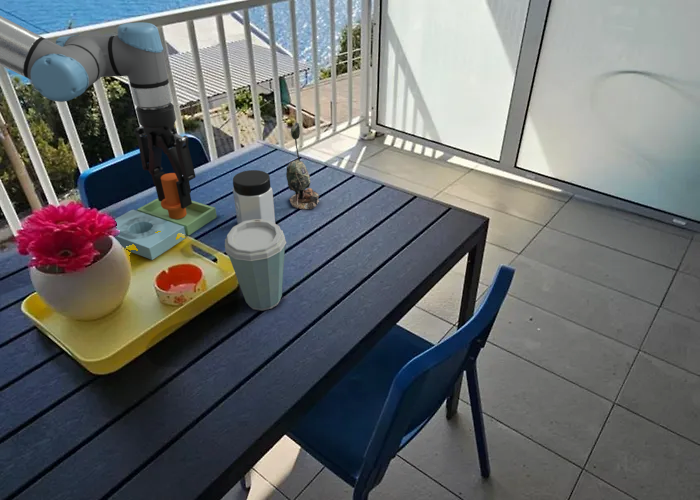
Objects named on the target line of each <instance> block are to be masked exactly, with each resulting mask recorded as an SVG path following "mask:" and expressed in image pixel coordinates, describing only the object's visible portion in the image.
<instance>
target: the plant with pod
mask: <svg viewBox="0 0 700 500" xmlns="http://www.w3.org/2000/svg"><path fill="white" fill-rule="evenodd" d="M290 135H291V137H292V139H293V140H294V144H295V149H296V155H297V159H295V160H293V161H290V162H289V163H288V164H286V163H284V165H285V166H286V165H287V166H286V172H285V173H286V174H285V176H286V181H287V186H288V189H289V190H290V191H293V192H294V193H295V194H293V195H292V196H291V197H289V202H290V204H291V206H292V207H293V208H296V209H300V210H312V209H315V208H316V207H317V206H318V204H319V202H320V200H319V197H320V196H319V193H318V192H316V191H314V190H313V188H311V176H310V174H309V171H308V169H307V166H306V164H305V163H304V161H302V160H300V155H299V150H298V142H297V141H298V139H299V138H300V135H301V127H300V124H299V122H296V121H295V122H294V124H293V125H292V126H291V128H290Z"/></svg>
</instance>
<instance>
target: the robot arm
mask: <svg viewBox="0 0 700 500" xmlns="http://www.w3.org/2000/svg"><path fill="white" fill-rule="evenodd" d="M116 30H117V34H115V35H79V34H73V35H66V36H60V37H58V38H57V39H56V40H55V42H53V41H51V40H49V39H47V38H45V37H44V36H41V35H40V34H38V33H35V32H33V31H31V30H29V29H27V28H26V27H23V26H21V25H19V24H17V23H15V22H13V21H12V20H9V19H7V17H4V16H2V15H0V66H1V67H3V68H4V69H8V70H10V71H11V72H14V73H15V74H18V75H19V76H22V77H25V78H27V79H28V80H30V81H31V83H32V86H33V87H34V88H35V89H36V90H37V91H38V92H39V93H40V94H41V95H42V97H44V98H46V99H48V100H50V101H53V102H58V103H64V102H69V101H71V100H73V99H75V98H77V97H80V96H81V95H82V94H84V93H85V92H86V90H87V89H88V88H89V87H91V86H92V85H93V84H94V83H96V82H98V80H100V79H101V78H105V77H109V78H110V77H127V78H128V83H129V86H130V91H131V96H132V98H133V99H132V100H133V104H134V105H135V106H136V108H135V112H136V116H137V119H138V123H139V125H140V126H139V127H136V128H134V129H133V132H134V134H135V136H136V139H137V144H138V149H139V154H140V161H141V165H142V170H144V171H148V173H149V174H150V175H151V178H152V183H153V186H154V187H155V192H156V195H157V196H156V197H157V198H158V200H159V201H162V200H163V199H165V195H164V191H163V186H162V182H161V176H163V175H165V174H166V173H165V171H162V170H164V168H163V166H162V153H163V154H165V155H166V156H167V159H168V161H169V163H170V165H171V168H172V169H173V173H175V174H176V176H177V179H178V181H177V182H176V185H177V190H178V195H179V200H180V205H181V208H183V209H184V208H186V207H187V206H189V205H191V204H192V201H193V200H192V197H191V196H192V195H191V193H192V190H191V185H190V181H191V180H193V179H195V178H196V172H195V168H194V163H193V160H192V154H191V152H190V147H189V137H188V136H187V135H183V136H182V135H180V134H179V133H178V131H177V129H176V128H175V123H176V122H177V115H176V111H175V105H174V104H173V103H172V102H173V96H172V92H171V91H172V90H171V84H170V81H169V76H168V72H167V71H168V70H167V65H166V58H165V53H164V50H165V49H164V46H163V44H162V40H161V36H160V31H159V28H158V27H157V26H156V25H155V24H154V23H150V22H142V21H141V22H138V21H137V22H126V23H122V24H120V25H118V27H117V29H116ZM191 200H192V201H191Z"/></svg>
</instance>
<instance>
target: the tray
mask: <svg viewBox="0 0 700 500" xmlns="http://www.w3.org/2000/svg"><path fill="white" fill-rule="evenodd" d="M191 201H192V204H191V205H189V206H187V207H186V213H187V214H186V216H185V217H183V218H180V219H172V218H170V217H169V213H168V210H166V209H163V208H162V206H161V201H159V200H158V197H157V198H156V199H153V200H151V201H150V202H148V203H146V204H144V205H142V206H140V207H138V208H136V211H139V212H142V213H145V214H148V215H151V216H154V217H157V218H160V219H163V220H166V221H169V222H172V223H175V224H178V225H181V226H184V229H185V234H186V236H191V235H192V234H194V233H195V232H197V231H198V230H200V229H202V227H204V226H206V225H207V224H209V223H211V222H212V221H214V220H215V219H216V218H218V215H217V209H216V207H214V206H211V205H209V204H208V205H207V204H205V203H201V202H198V201H195V200H192V199H191Z"/></svg>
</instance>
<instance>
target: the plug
mask: <svg viewBox="0 0 700 500" xmlns="http://www.w3.org/2000/svg"><path fill="white" fill-rule="evenodd" d="M164 174H165V175H163V176H161V182H162V186H163V191H164V195H165V199H163V200H162V201H161V206H162V208H163V209H166V210H168V213H169V217H170V218H172V219H180V218H183V217H185V216H186V214H187V213H186V208H184V209H183V208H181V205H180V200H179V195H178V190H177V185H176V182H177V181H178V179H177V176H176V174H175V172H169V173H164Z"/></svg>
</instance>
